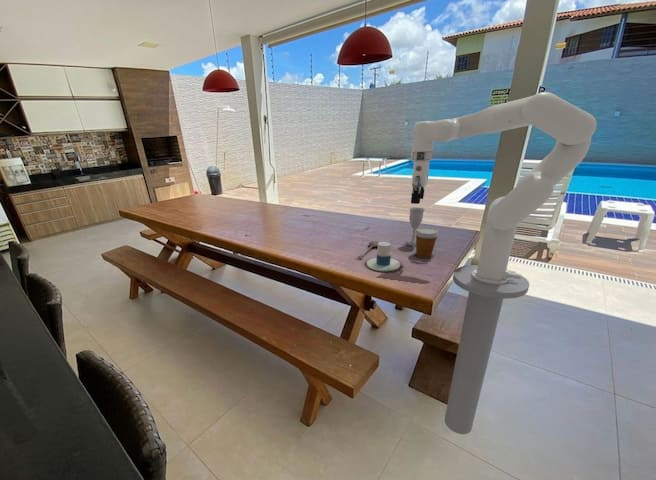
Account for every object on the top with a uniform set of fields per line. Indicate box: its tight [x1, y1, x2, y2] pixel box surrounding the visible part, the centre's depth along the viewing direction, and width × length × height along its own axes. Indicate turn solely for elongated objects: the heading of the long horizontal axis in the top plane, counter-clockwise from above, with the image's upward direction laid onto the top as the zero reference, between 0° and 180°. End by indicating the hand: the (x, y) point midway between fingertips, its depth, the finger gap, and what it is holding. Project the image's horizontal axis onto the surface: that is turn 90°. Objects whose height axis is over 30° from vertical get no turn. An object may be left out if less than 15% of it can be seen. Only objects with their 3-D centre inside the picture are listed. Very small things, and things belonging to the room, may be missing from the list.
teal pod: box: [376, 252, 392, 266], centre depth 131 cm, size 6×6×4 cm
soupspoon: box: [357, 240, 380, 260], centre depth 147 cm, size 22×3×7 cm
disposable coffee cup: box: [415, 226, 439, 259], centre depth 137 cm, size 10×10×12 cm
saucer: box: [366, 257, 401, 272], centre depth 132 cm, size 14×14×1 cm
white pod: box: [376, 241, 392, 256], centre depth 130 cm, size 5×5×4 cm
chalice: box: [407, 207, 425, 246], centre depth 149 cm, size 7×7×18 cm
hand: (417, 201), depth 125 cm, fingers open, 9 cm apart
